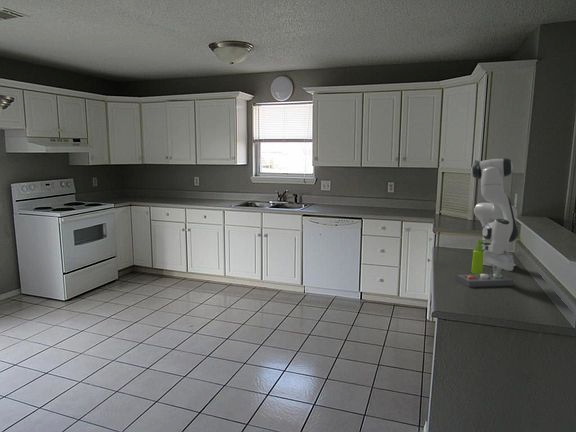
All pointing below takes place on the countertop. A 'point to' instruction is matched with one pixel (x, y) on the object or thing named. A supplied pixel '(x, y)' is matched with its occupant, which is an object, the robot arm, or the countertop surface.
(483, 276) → the button cream
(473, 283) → the console
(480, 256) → the soap dispenser
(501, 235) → the robot arm
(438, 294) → the countertop surface
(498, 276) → the button sage
